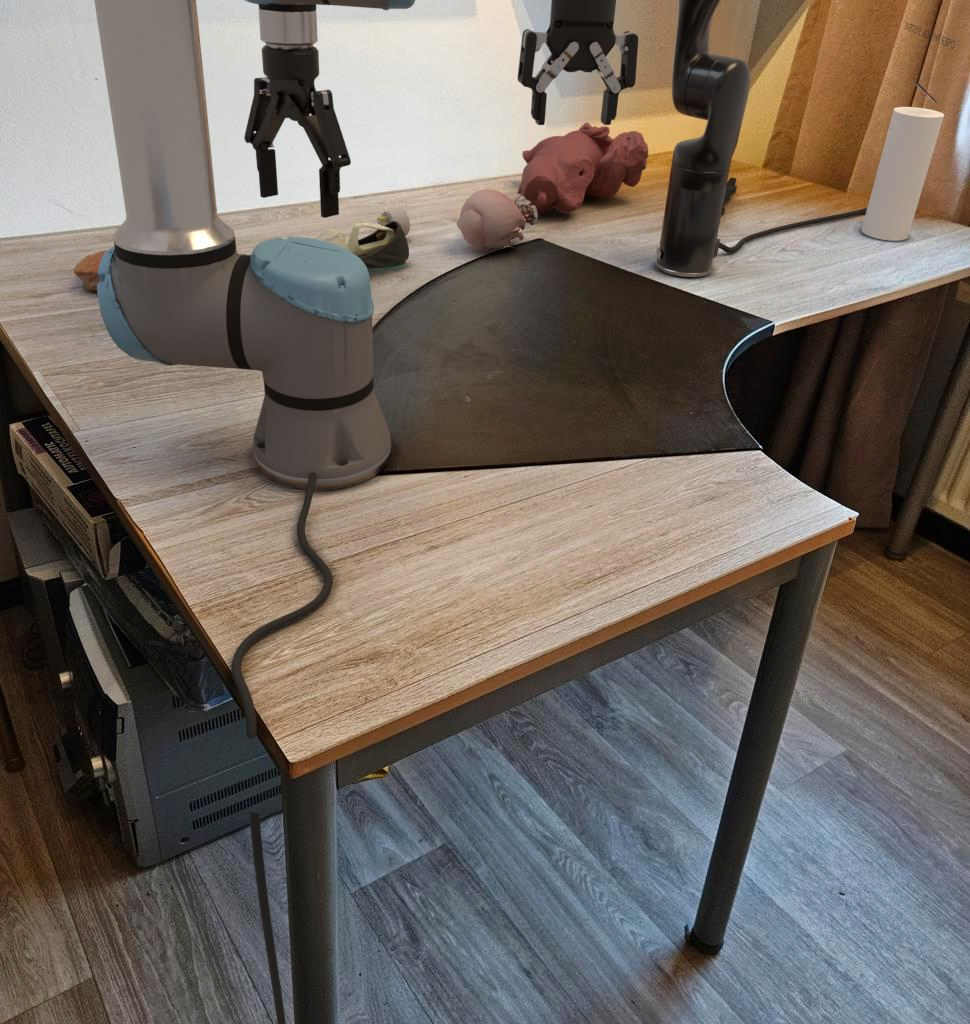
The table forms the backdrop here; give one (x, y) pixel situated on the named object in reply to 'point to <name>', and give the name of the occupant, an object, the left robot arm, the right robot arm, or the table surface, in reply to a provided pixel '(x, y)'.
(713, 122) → the right robot arm
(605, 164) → the reddish-brown lumpy piece
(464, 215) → the toy
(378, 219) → the electric motor
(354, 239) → the ballet flat
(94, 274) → the ceramic shard
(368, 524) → the table surface
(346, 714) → the table surface
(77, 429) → the table surface
